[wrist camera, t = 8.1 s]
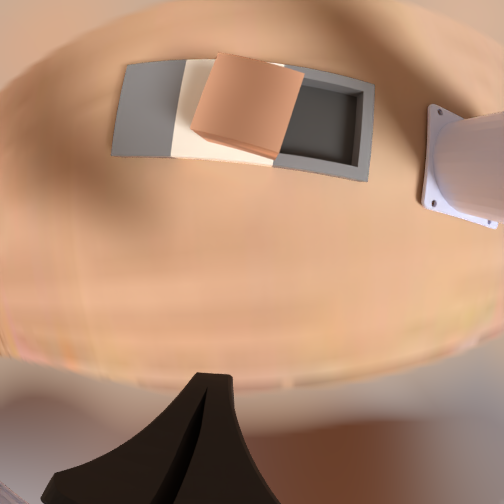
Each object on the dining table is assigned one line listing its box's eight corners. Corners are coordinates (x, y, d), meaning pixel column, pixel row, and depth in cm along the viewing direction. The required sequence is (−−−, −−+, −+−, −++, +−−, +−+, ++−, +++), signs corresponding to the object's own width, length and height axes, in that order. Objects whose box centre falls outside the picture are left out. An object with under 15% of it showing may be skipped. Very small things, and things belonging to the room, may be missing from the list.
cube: (294, 98, 14) (304, 73, 10) (274, 160, 15) (279, 152, 11) (228, 80, 13) (218, 52, 10) (207, 141, 14) (189, 128, 11)
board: (366, 91, 14) (374, 84, 13) (359, 181, 16) (367, 181, 15) (136, 72, 15) (127, 65, 13) (121, 157, 16) (110, 155, 15)
